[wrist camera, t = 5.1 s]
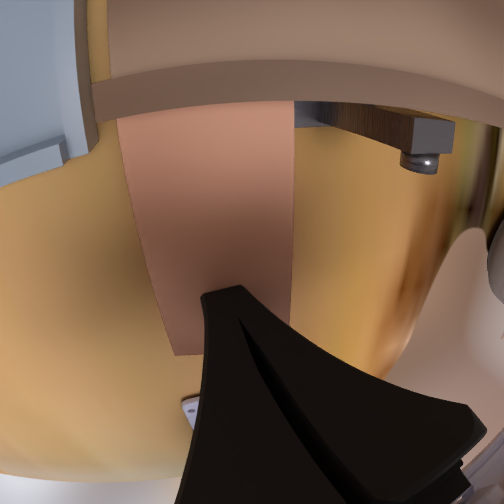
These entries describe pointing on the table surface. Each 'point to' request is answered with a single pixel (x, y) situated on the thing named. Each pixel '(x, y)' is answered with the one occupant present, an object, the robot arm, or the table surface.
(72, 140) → the bin
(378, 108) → the lever stand
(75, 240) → the table surface
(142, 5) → the lever
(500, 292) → the teacup
